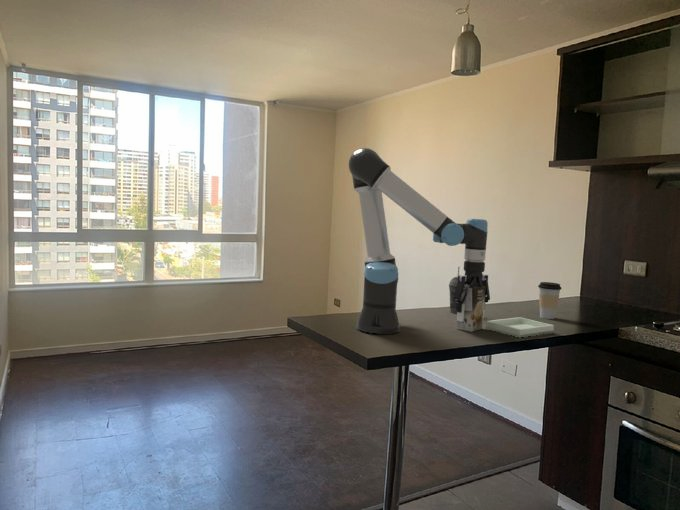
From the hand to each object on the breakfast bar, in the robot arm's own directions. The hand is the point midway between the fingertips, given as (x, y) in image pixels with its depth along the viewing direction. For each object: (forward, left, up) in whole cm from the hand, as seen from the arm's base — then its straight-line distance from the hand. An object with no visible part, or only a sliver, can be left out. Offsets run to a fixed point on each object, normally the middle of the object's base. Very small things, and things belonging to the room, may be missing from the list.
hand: (470, 320), depth 191 cm
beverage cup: (+19, +25, -3) cm, 32 cm away
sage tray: (+16, -10, -3) cm, 19 cm away
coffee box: (0, 0, -4) cm, 4 cm away
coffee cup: (+51, +2, -4) cm, 51 cm away
